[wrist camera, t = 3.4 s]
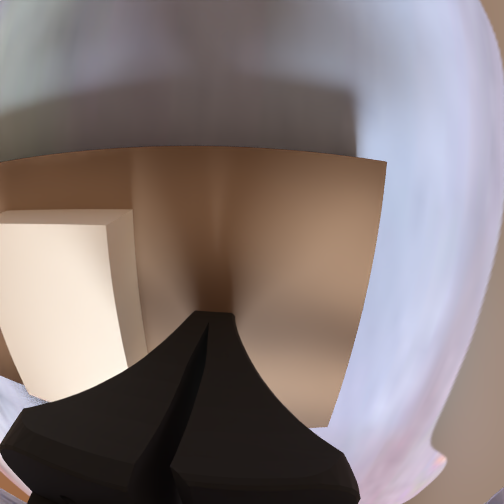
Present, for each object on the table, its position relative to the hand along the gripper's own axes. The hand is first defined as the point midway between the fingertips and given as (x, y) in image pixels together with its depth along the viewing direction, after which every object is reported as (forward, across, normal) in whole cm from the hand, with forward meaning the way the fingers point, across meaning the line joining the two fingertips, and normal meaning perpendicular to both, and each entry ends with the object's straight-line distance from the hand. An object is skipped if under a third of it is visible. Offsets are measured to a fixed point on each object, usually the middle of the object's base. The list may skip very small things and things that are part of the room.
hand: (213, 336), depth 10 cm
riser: (+4, +5, 0) cm, 6 cm away
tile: (+1, +6, 0) cm, 6 cm away
